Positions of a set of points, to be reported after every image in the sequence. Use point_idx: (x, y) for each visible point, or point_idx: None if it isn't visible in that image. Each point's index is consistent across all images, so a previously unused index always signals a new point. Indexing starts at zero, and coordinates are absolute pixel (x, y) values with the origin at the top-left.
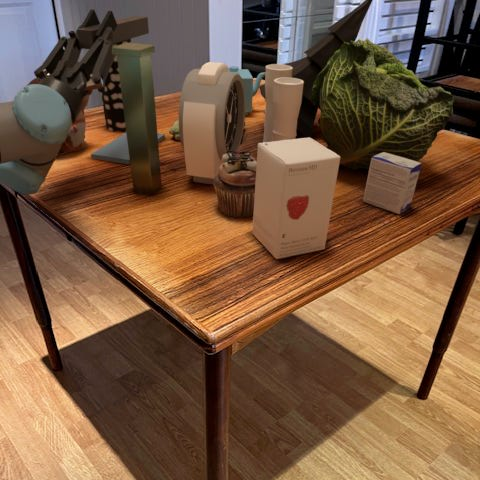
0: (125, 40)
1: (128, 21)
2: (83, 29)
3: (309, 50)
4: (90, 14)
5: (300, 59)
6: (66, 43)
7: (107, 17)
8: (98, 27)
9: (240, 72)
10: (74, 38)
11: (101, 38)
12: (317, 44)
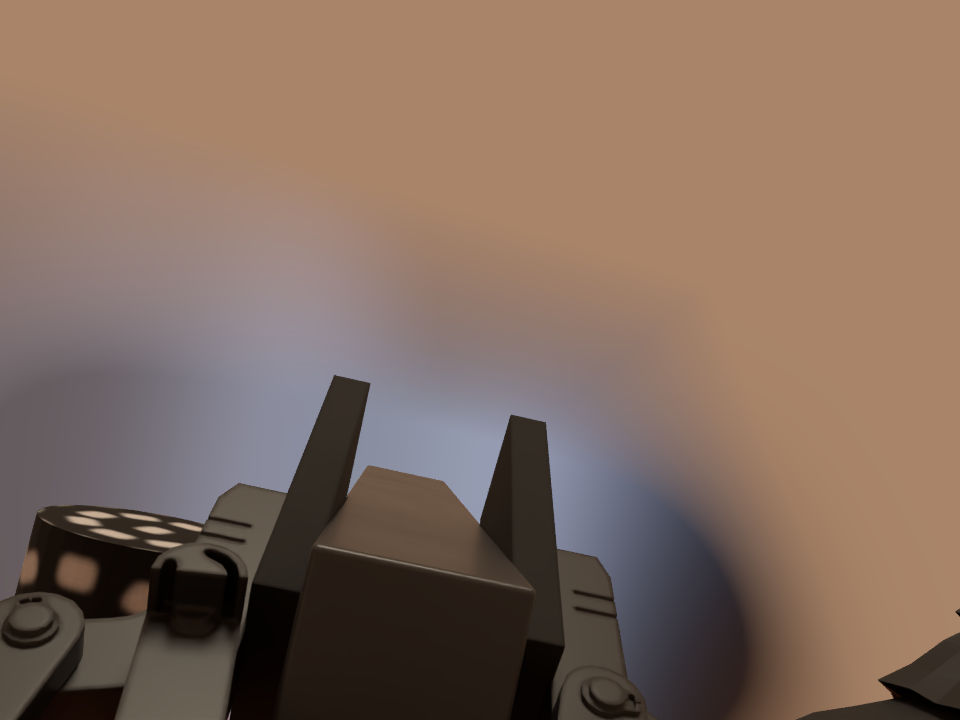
0: None
1: (457, 499)
2: (403, 557)
3: (919, 680)
4: (350, 412)
5: (873, 705)
6: (61, 695)
7: (540, 466)
8: (457, 539)
9: None
10: (221, 644)
11: (623, 692)
12: (947, 662)
